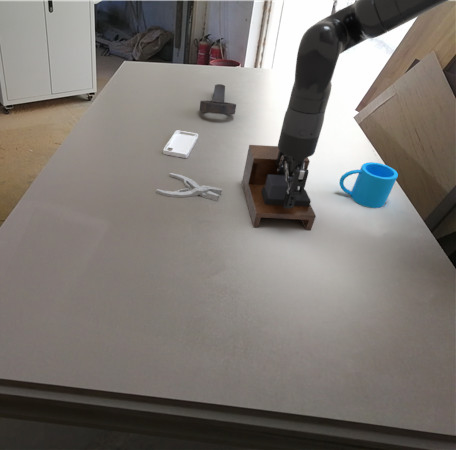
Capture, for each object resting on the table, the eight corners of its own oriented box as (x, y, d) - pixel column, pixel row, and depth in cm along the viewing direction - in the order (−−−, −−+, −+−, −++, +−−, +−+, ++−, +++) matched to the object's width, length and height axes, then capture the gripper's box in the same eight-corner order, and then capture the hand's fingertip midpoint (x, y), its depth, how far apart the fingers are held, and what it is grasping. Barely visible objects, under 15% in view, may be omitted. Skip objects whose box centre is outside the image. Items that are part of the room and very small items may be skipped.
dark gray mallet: (202, 104, 162) (198, 111, 135) (204, 82, 159) (201, 85, 131) (232, 107, 161) (235, 115, 133) (235, 85, 158) (239, 88, 130)
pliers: (170, 169, 107) (225, 182, 102) (170, 174, 108) (224, 188, 103) (156, 187, 99) (215, 202, 95) (156, 192, 100) (214, 208, 96)
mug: (381, 193, 105) (394, 165, 100) (387, 210, 98) (401, 181, 93) (333, 185, 107) (343, 157, 102) (336, 201, 101) (347, 173, 96)
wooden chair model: (291, 185, 106) (302, 147, 99) (310, 230, 91) (325, 188, 84) (241, 183, 106) (249, 144, 99) (253, 227, 91) (263, 185, 84)
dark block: (303, 194, 95) (309, 176, 92) (309, 206, 91) (315, 188, 88) (261, 192, 95) (265, 173, 92) (264, 204, 91) (269, 185, 88)
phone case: (186, 158, 115) (198, 137, 127) (187, 154, 114) (199, 133, 126) (162, 154, 117) (176, 133, 128) (162, 149, 116) (176, 129, 127)
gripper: (330, 145, 76) (308, 216, 86) (309, 117, 88) (292, 182, 97) (291, 143, 76) (273, 214, 86) (275, 115, 88) (260, 180, 97)
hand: (283, 197), depth 91 cm, fingers open, 8 cm apart
